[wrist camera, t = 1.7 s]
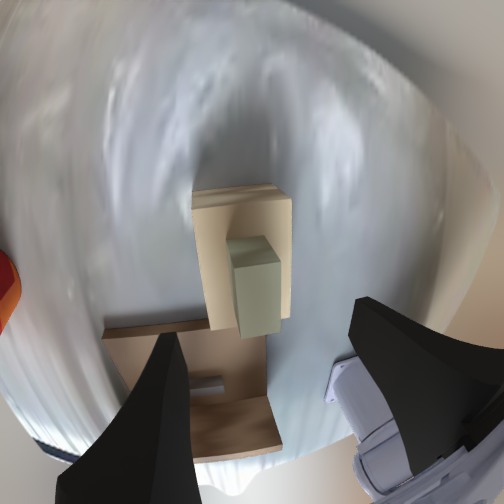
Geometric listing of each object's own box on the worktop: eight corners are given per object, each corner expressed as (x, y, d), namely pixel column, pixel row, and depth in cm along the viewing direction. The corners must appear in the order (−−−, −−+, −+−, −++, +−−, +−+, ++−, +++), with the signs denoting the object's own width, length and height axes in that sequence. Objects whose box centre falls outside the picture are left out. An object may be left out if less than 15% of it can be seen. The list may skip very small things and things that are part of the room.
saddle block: (270, 183, 17) (315, 217, 11) (273, 284, 20) (306, 349, 14) (192, 191, 16) (191, 232, 10) (206, 294, 20) (216, 366, 13)
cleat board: (261, 310, 21) (288, 380, 15) (264, 394, 26) (282, 450, 20) (104, 329, 19) (85, 399, 13) (147, 408, 24) (146, 464, 18)
